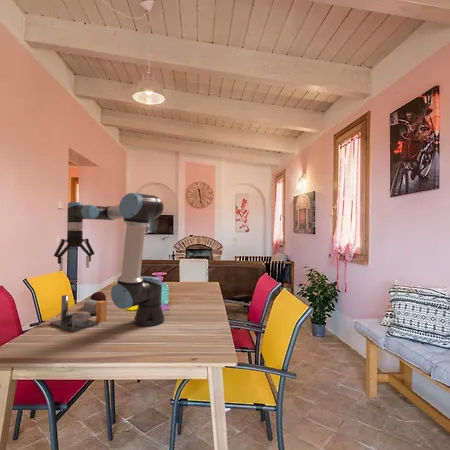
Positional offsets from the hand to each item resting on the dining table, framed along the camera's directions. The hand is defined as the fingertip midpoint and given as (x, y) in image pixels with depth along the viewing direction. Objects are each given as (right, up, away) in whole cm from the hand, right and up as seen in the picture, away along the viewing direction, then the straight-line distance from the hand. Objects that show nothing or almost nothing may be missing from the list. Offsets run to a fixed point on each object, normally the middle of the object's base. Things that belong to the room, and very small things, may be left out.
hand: (74, 268), depth 167 cm
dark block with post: (+9, -25, -18) cm, 32 cm away
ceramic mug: (+10, -26, +2) cm, 28 cm away
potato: (+7, -26, +15) cm, 30 cm away
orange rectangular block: (+19, -25, -11) cm, 34 cm away
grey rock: (+15, -24, -22) cm, 36 cm away
